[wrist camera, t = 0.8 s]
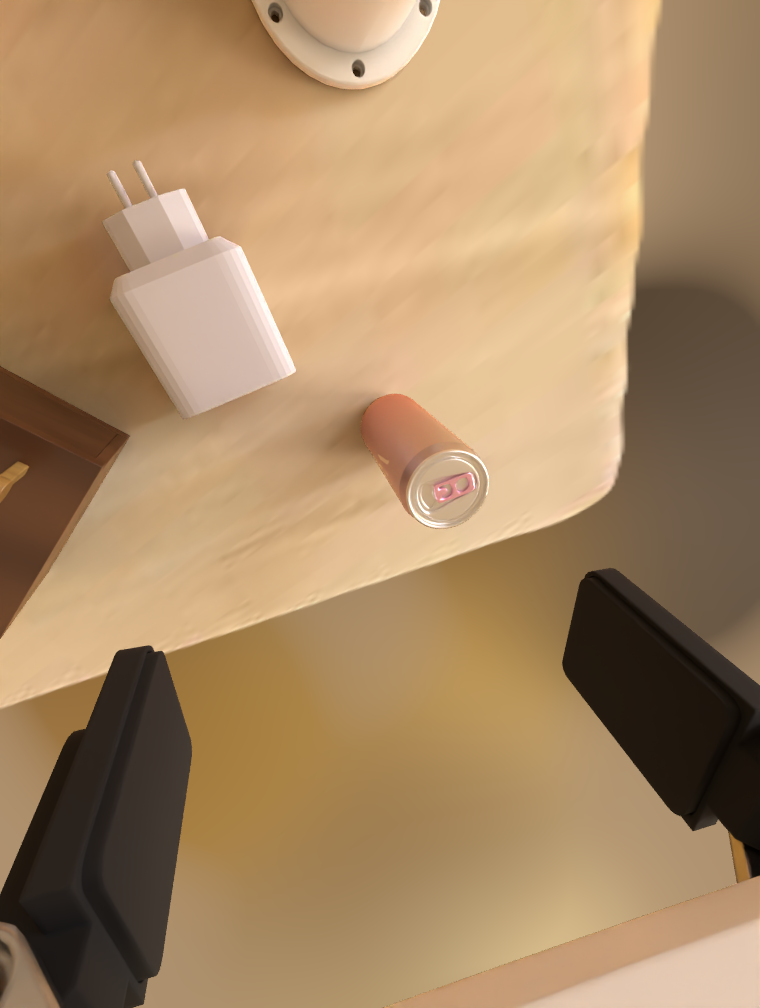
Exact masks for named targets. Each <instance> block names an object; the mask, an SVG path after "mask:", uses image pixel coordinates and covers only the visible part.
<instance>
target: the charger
mask: <svg viewBox="0 0 760 1008" xmlns="http://www.w3.org/2000/svg"><path fill="white" fill-rule="evenodd" d="M133 166H134V168H135V170H136V172H137V174H138V176H139V178H140V180H141V182H142V184H143V186H144V188H145V190H146V191H147V193H148V195H149V197H150V199H148V200H145V201H143V202H140V203H138V204H135V205H132V203H131V201H130V199H129V197H128V196H127V194H126V192H125V190H124V188H123V186H122V184H121V183H120V181H119V179H118V177H117V175H116V173H115V172H114V171H108V172H107V176H108V178H109V180H110V182H111V184H112V186H113V187H114V189H115V191H116V193H117V195H118V197H119V198H120V200H121V202H122V204H123V206H124V208H125V209H123V210H121V211H119V212H117V213H115V214H114V215H112V216H110V217H108V218H106V219H105V220H103V221H102V223H103V225H104V227H105V229H106V230H107V232H108V234H109V236H110V237H111V239H112V241H113V242H114V244H115V246H116V248H117V249H118V251H119V253H120V255H121V256H122V258H123V260H124V262H125V263H126V265H127V267H128V269H129V270H130V272H129V273H127V274H124V275H122V276H119V277H117V278H115V279H114V283H113V288H112V292H111V296H110V301H111V303H112V304H113V306H114V308H115V309H116V311H117V313H118V314H119V316H120V317H121V319H122V321H123V322H124V324H125V326H126V327H127V329H128V331H129V332H130V334H131V335H132V337H133V339H134V340H135V342H136V344H137V345H138V347H139V348H140V350H141V352H142V353H143V355H144V357H145V358H146V360H147V361H148V363H149V365H150V366H151V368H152V370H153V371H154V373H155V375H156V376H157V378H158V379H159V381H160V383H161V384H162V386H163V388H164V389H165V391H166V392H167V394H168V396H169V397H170V399H171V401H172V402H173V404H174V405H175V407H176V409H177V410H178V412H179V414H180V415H181V417H182V418H183V419H187V418H190V417H193V416H196V415H198V414H201V413H203V412H206V411H208V410H210V409H213V408H215V407H217V406H220V405H222V404H225V403H227V402H229V401H232V400H234V399H236V398H239V397H241V396H243V395H246V394H248V393H250V392H253V391H255V390H258V389H260V388H262V387H265V386H267V385H269V384H272V383H274V382H276V381H279V380H281V379H283V378H285V377H287V376H289V375H291V374H293V373H294V372H295V371H296V370H295V367H294V364H293V362H292V359H291V357H290V355H289V353H288V351H287V348H286V346H285V344H284V342H283V339H282V337H281V335H280V333H279V330H278V328H277V326H276V324H275V322H274V319H273V317H272V315H271V313H270V310H269V308H268V306H267V304H266V301H265V299H264V297H263V295H262V292H261V290H260V288H259V286H258V284H257V281H256V279H255V277H254V275H253V272H252V270H251V268H250V266H249V263H248V261H247V259H246V257H245V254H244V252H243V250H242V248H241V247H240V246H239V245H237V244H235V243H233V242H230V241H228V240H226V239H224V238H222V237H220V236H218V237H215V238H212V239H210V240H209V239H208V237H207V234H206V232H205V230H204V228H203V226H202V224H201V222H200V220H199V218H198V216H197V213H196V211H195V209H194V207H193V205H192V203H191V201H190V199H189V197H188V195H187V192H186V190H185V189H178V190H175V191H172V192H168V193H165V194H161V195H157V193H156V191H155V189H154V187H153V185H152V183H151V181H150V179H149V177H148V175H147V173H146V171H145V169H144V167H143V165H142V163H141V161H139V160H135V161H134V162H133Z"/></svg>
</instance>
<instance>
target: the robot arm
mask: <svg viewBox="0 0 760 1008" xmlns="http://www.w3.org/2000/svg"><path fill="white" fill-rule="evenodd" d="M251 1H252V3H253V5H254V7H255V9H256V11H257V13H258V16H259V18H260V20H261V22H262V24H263V25H264V27H265V29H266V30H267V32H268V33H269V35H270V36H271V38H272V39H273V41H274V42H275V44H276V45H277V46H278V48H279V49H280V50H281V51H282V52H283V53H284V54H285V55H286V56H287V58H288V59H289V60H290V61H291V62H292V63H293V64H294V65H296V66H297V67H298V68H300V69H301V70H302V71H303V72H305V73H306V74H307V75H308V76H310V77H312V78H314V79H316V80H318V81H320V82H322V83H324V84H326V85H329V86H333V87H337V88H341V89H365V88H368V87H372V86H376V85H379V84H381V83H383V82H384V81H386V80H388V79H390V78H392V77H393V76H395V75H396V74H397V73H398V72H399V71H400V70H401V69H402V68H403V67H405V66H406V65H407V64H408V63H409V61H410V60H411V59H412V57H413V56H414V55H415V53H416V52H417V51H418V49H419V48H420V46H421V44H422V43H423V41H424V39H425V38H426V36H427V34H428V33H429V30H430V28H431V26H432V23H433V21H434V18H435V16H436V13H437V10H438V6H439V2H440V0H251ZM419 9H423V11H424V14H425V16H423V15H422V14H421V13H420V10H419ZM272 15H277V16H278V17H279V22H278V23H276V22H273V21H272V19H271V16H272ZM354 69H357V70H358V71H359V74H360V75H359V77H356V76H355V75H354V74H353V70H354ZM562 664H563V670H564V672H565V674H566V676H567V678H568V679H569V680H570V682H571V683H572V684H573V685H574V687H575V688H576V689H577V690H578V692H579V693H580V694H581V696H582V697H583V698H584V700H585V701H586V702H587V703H588V705H589V706H590V707H591V709H592V710H593V711H594V713H595V714H596V715H597V716H598V718H599V719H600V720H601V722H602V723H603V724H604V725H605V727H606V728H607V729H608V731H609V732H610V733H611V734H612V736H613V737H614V738H615V739H616V741H617V742H618V743H619V744H620V746H621V747H622V749H623V750H624V751H625V753H626V754H627V755H628V756H629V757H630V759H631V760H632V761H633V763H634V764H635V765H636V767H637V768H638V769H639V771H640V772H641V773H642V774H643V776H644V777H645V778H646V779H647V781H648V782H649V784H650V785H651V786H652V787H653V788H654V790H655V791H656V792H657V794H658V795H659V796H660V798H661V799H662V800H663V801H664V803H665V804H666V805H667V807H668V808H669V809H670V810H671V811H672V812H673V813H675V814H677V815H679V816H681V817H682V818H683V819H684V820H685V822H686V823H687V824H688V826H689V827H690V828H691V829H692V831H695V830H699V829H701V828H705V827H708V826H711V825H714V824H716V822H717V820H718V819H719V820H720V822H721V823H722V824H723V825H724V826H725V827H726V829H727V830H728V833H729V839H730V845H731V851H732V857H733V863H734V869H735V875H736V881H737V884H734V885H731V886H728V887H726V888H722V889H720V890H717V891H714V892H711V893H708V894H705V895H702V896H699V897H696V898H693V899H691V900H687V901H685V902H682V903H679V904H676V905H673V906H670V907H667V908H664V909H661V910H659V911H655V912H653V913H650V914H647V915H644V916H641V917H638V918H635V919H632V920H630V921H627V922H624V923H621V924H618V925H615V926H612V927H610V928H607V929H604V930H601V931H598V932H595V933H593V934H590V935H587V936H584V937H581V938H578V939H575V940H572V941H570V942H567V943H564V944H561V945H558V946H555V947H552V948H549V949H547V950H544V951H541V952H538V953H536V954H532V955H530V956H527V957H524V958H521V959H519V960H515V961H512V962H510V963H507V964H504V965H501V966H498V967H495V968H493V969H490V970H487V971H484V972H481V973H478V974H476V975H473V976H470V977H467V978H464V979H462V980H459V981H456V982H453V983H450V984H448V985H445V986H442V987H439V988H436V989H433V990H431V991H428V992H425V993H422V994H419V995H417V996H414V997H411V998H408V999H405V1000H403V1001H400V1002H397V1003H394V1004H391V1005H389V1006H386V1007H383V1008H760V685H759V684H757V683H756V682H755V681H754V680H752V679H751V678H750V677H748V676H747V675H746V674H745V673H744V672H742V671H741V670H740V669H739V668H737V667H736V666H735V665H734V664H733V663H731V662H730V661H729V660H728V659H726V658H725V657H724V656H723V655H721V654H720V653H719V652H718V651H716V650H715V649H714V648H713V647H712V646H710V645H709V644H708V643H706V642H705V641H704V640H703V639H702V638H700V637H699V636H698V635H697V634H695V633H694V632H693V631H692V630H691V629H689V628H688V627H687V626H686V625H684V624H683V623H682V622H681V621H679V620H678V619H677V618H676V617H674V616H673V615H672V614H671V613H669V612H668V611H667V610H666V609H665V608H663V607H662V606H661V605H660V604H658V603H657V602H656V601H655V600H653V599H652V598H651V597H650V596H648V595H647V594H646V593H645V592H644V591H642V590H641V589H640V588H639V587H637V586H636V585H635V584H634V583H632V582H631V581H630V580H629V579H627V578H626V577H625V576H624V575H623V574H621V573H620V572H619V571H617V570H616V569H613V568H608V569H602V570H596V571H591V572H588V573H587V574H586V575H585V578H584V579H583V580H581V582H580V585H579V589H578V593H577V598H576V602H575V607H574V611H573V616H572V620H571V625H570V629H569V634H568V638H567V643H566V647H565V652H564V656H563V662H562ZM191 757H192V746H191V739H190V736H189V732H188V729H187V726H186V723H185V720H184V716H183V713H182V710H181V707H180V703H179V700H178V697H177V694H176V690H175V687H174V684H173V681H172V677H171V674H170V671H169V668H168V664H167V661H166V658H165V655H164V653H163V652H162V651H158V652H154V650H153V648H152V647H151V646H149V645H148V646H142V647H136V648H130V649H124V650H119V651H118V652H116V654H115V656H114V659H113V661H112V664H111V666H110V669H109V671H108V674H107V676H106V679H105V681H104V684H103V687H102V690H101V692H100V694H99V697H98V699H97V702H96V704H95V707H94V710H93V712H92V715H91V717H90V720H89V722H88V725H87V727H86V729H83V730H78V731H75V732H73V733H72V734H71V735H70V736H69V737H68V739H67V740H66V742H65V744H64V746H63V748H62V751H61V753H60V755H59V758H58V760H57V762H56V765H55V767H54V769H53V772H52V774H51V776H50V779H49V781H48V783H47V786H46V788H45V791H44V793H43V795H42V798H41V800H40V802H39V805H38V807H37V809H36V812H35V814H34V816H33V819H32V821H31V824H30V826H29V828H28V831H27V833H26V835H25V837H24V840H23V842H22V845H21V847H20V849H19V852H18V854H17V856H16V859H15V861H14V864H13V866H12V868H11V870H10V873H9V875H8V877H7V880H6V882H5V884H4V887H3V889H2V892H1V894H0V1008H133V1007H136V1006H139V1005H143V1004H144V999H145V993H146V987H147V981H148V978H151V977H154V976H156V975H157V974H158V972H159V970H160V966H161V961H162V957H163V950H164V943H165V935H166V929H167V922H168V916H169V909H170V902H171V895H172V888H173V881H174V874H175V868H176V861H177V854H178V846H179V840H180V833H181V827H182V819H183V812H184V806H185V799H186V792H187V785H188V778H189V772H190V765H191Z"/></svg>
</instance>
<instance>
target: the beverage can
mask: <svg viewBox="0 0 760 1008" xmlns="http://www.w3.org/2000/svg"><path fill="white" fill-rule="evenodd" d="M361 434H362V438H363V440H364V442H365V444H366V446H367V447H368V449H369V451H370V452H371V454H372V456H373V457H374V459H375V461H376V462H377V464H378V465H379V467H380V469H381V470H382V472H383V474H384V475H385V477H386V479H387V480H388V482H389V484H390V485H391V487H392V488H393V490H394V492H395V493H396V495H397V497H398V498H399V500H400V502H401V503H402V505H403V507H404V508H405V510H406V511H407V512H408V513H409V514H410V515H411V516H412V517H414V518H415V519H416V520H417V521H418V522H420V523H421V524H423V525H425V526H427V527H430V528H435V529H446V528H452V527H455V526H458V525H460V524H462V523H464V522H466V521H467V520H469V519H470V518H471V517H472V516H473V515H474V514H475V513H476V512H477V511H478V510H479V509H480V507H481V506H482V504H483V502H484V500H485V498H486V495H487V492H488V486H489V479H488V473H487V470H486V468H485V466H484V464H483V463H482V461H481V459H480V457H479V456H478V455H477V453H476V452H475V451H474V450H473V449H471V448H470V447H469V446H468V445H467V444H465V443H464V442H463V441H462V440H461V439H459V438H458V437H457V436H456V435H455V434H453V433H452V432H451V431H450V430H449V429H447V428H446V427H445V426H444V425H443V424H441V423H440V422H439V421H438V420H437V419H435V418H434V417H433V416H432V415H430V414H429V413H428V412H427V411H426V410H424V409H423V408H422V407H421V406H420V405H418V404H417V403H416V402H415V401H414V400H412V399H411V398H409V397H407V396H405V395H401V394H389V395H385V396H382V397H380V398H378V399H377V400H375V401H374V402H373V403H372V404H371V405H370V406H369V407H368V408H367V410H366V411H365V413H364V415H363V418H362V422H361Z"/></svg>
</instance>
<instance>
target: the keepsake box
mask: <svg viewBox="0 0 760 1008" xmlns="http://www.w3.org/2000/svg"><path fill="white" fill-rule="evenodd" d="M0 411H2V412H4V413H6V414H8V415H10V416H12V417H14V418H16V419H18V420H20V421H22V422H24V423H26V424H28V425H30V426H32V427H34V428H36V429H38V430H40V431H42V432H44V433H46V434H48V435H50V436H52V437H54V438H56V439H58V440H60V441H62V442H64V443H66V444H68V445H70V446H72V447H74V448H76V449H78V450H80V451H82V452H84V453H86V454H88V455H90V456H92V457H94V458H96V459H98V460H100V461H102V462H104V463H105V465H104V467H103V469H102V470H101V472H100V474H99V476H98V477H97V479H96V481H95V482H94V484H93V486H92V487H91V489H90V491H89V492H88V494H87V496H86V497H85V499H84V501H83V502H82V504H81V506H80V507H79V509H78V511H77V512H76V514H75V516H74V517H73V519H72V521H71V522H70V524H69V526H68V527H67V529H66V531H65V533H64V534H63V536H62V538H61V539H60V541H59V543H58V544H57V546H56V548H55V549H54V551H53V553H52V554H51V556H50V558H49V559H48V561H47V563H46V564H45V566H44V568H43V569H42V571H41V573H40V574H39V576H38V578H37V579H36V581H35V583H34V585H33V586H32V588H31V590H30V591H29V593H28V595H27V596H26V598H25V600H24V601H23V603H22V605H21V606H20V608H19V610H18V611H17V613H16V615H15V616H14V618H13V620H12V621H11V623H12V622H13V621H14V619H15V618H16V616H17V615H18V614H19V612H20V611H21V609H22V608H23V607H24V605H25V604H26V602H27V601H28V600H29V598H30V597H31V595H32V594H33V593H34V591H35V590H36V588H37V587H38V586H39V584H40V583H41V582H42V580H43V579H44V577H45V576H46V575H47V573H48V572H49V570H50V568H51V567H52V565H53V563H54V562H55V560H56V558H57V557H58V555H59V553H60V552H61V550H62V548H63V547H64V545H65V543H66V542H67V540H68V538H69V537H70V535H71V533H72V532H73V530H74V528H75V527H76V525H77V523H78V522H79V520H80V518H81V517H82V515H83V513H84V512H85V510H86V508H87V507H88V505H89V503H90V502H91V500H92V498H93V497H94V495H95V493H96V492H97V490H98V488H99V487H100V485H101V483H102V482H103V480H104V478H105V477H106V475H107V473H108V472H109V470H110V468H111V467H112V465H113V463H114V462H115V460H116V458H117V457H118V455H119V453H120V452H121V450H122V448H123V447H124V445H125V444H126V442H127V440H128V439H129V437H130V436H129V435H127V434H125V433H123V432H121V431H120V430H118V429H116V428H114V427H112V426H110V425H108V424H106V423H105V422H103V421H101V420H99V419H97V418H95V417H93V416H92V415H90V414H88V413H86V412H84V411H82V410H80V409H78V408H77V407H75V406H73V405H71V404H69V403H67V402H65V401H64V400H62V399H60V398H58V397H56V396H54V395H52V394H50V393H49V392H47V391H45V390H43V389H41V388H39V387H37V386H36V385H34V384H32V383H30V382H28V381H26V380H24V379H22V378H21V377H19V376H17V375H15V374H13V373H11V372H9V371H8V370H6V369H4V368H2V367H0ZM11 623H10V625H11ZM10 625H9V626H10ZM9 626H8V628H9ZM8 628H7V629H8Z"/></svg>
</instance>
